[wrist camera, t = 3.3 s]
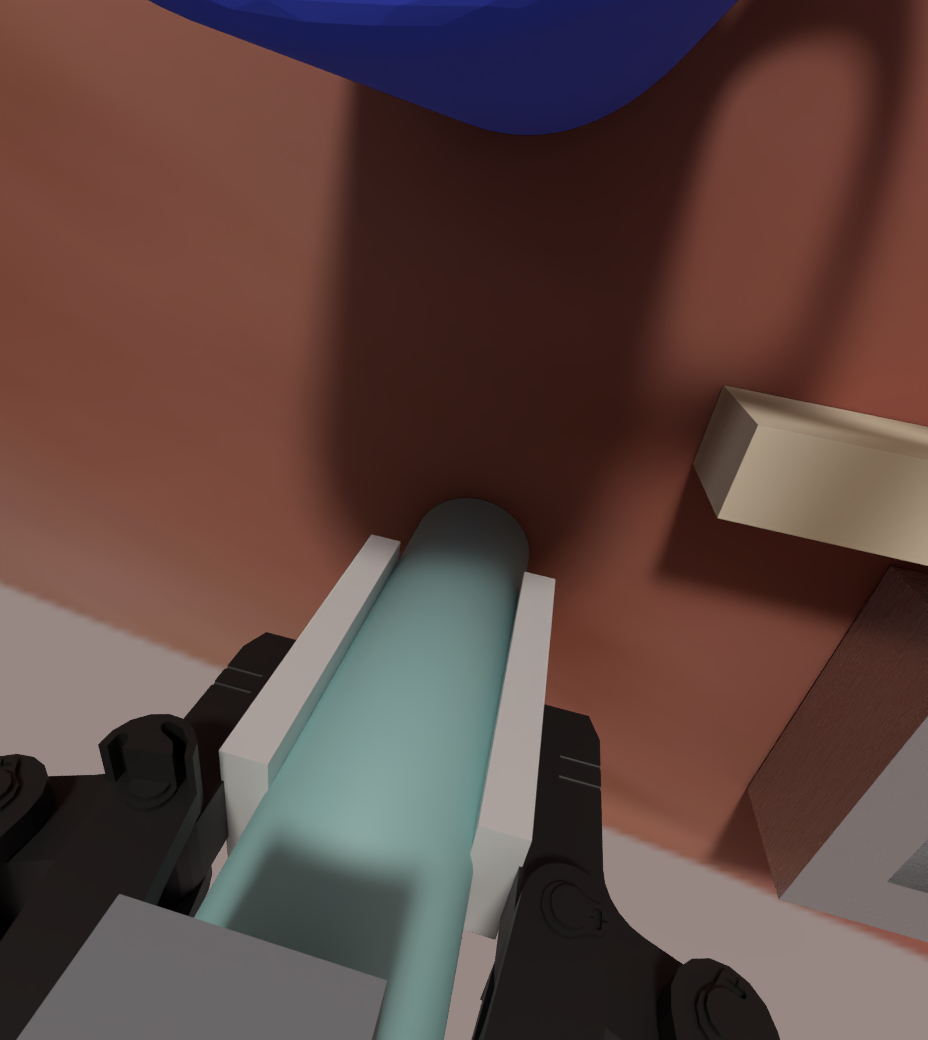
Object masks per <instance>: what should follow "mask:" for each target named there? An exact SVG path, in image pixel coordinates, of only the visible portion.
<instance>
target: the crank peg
mask: <svg viewBox="0 0 928 1040" xmlns="http://www.w3.org/2000/svg"><path fill="white" fill-rule="evenodd" d="M528 562H529V545H528V541H527V538H526V535H525V533H524V531H523V529H522V528H521V526H520V525H519V523H518V522H517V521H516V520H515V519H514V518H513V517H512V516H511V515H510V514H509V513H508V512H506V511H505V510H504V509H502V508H501V507H499V506H497V505H495V504H493V503H490V502H488V501H484V500H481V499H475V498H457V499H452V500H448V501H445V502H443V503H441V504H439V505H437V506H435V507H434V508H432V509H431V510H430V511H429V512H428V513H427V514H426V515H425V516H424V517H423V519H422V520H421V522H420V524H419V525H418V527H417V529H416V531H415V532H414V534H413V536H412V538H411V539H410V541H409V543H408V545H407V546H406V548H405V550H404V552H403V553H402V555H401V557H400V559H399V560H398V563H397V565H396V567H395V568H394V570H393V572H392V574H391V575H390V577H389V579H388V581H387V582H386V584H385V586H384V588H383V590H382V591H381V593H380V595H379V597H378V598H377V600H376V602H375V604H374V605H373V607H372V609H371V611H370V612H369V614H368V616H367V618H366V619H365V621H364V623H363V625H362V626H361V628H360V630H359V632H358V633H357V635H356V637H355V639H354V640H353V642H352V644H351V646H350V647H349V649H348V651H347V653H346V654H345V656H344V658H343V660H342V661H341V663H340V665H339V667H338V669H337V670H336V672H335V674H334V676H333V677H332V679H331V681H330V683H329V684H328V686H327V688H326V690H325V691H324V693H323V695H322V697H321V698H320V700H319V702H318V704H317V705H316V707H315V709H314V711H313V712H312V714H311V716H310V718H309V719H308V721H307V723H306V725H305V726H304V728H303V730H302V732H301V733H300V735H299V737H298V739H297V740H296V742H295V744H294V746H293V747H292V749H291V751H290V753H289V755H288V756H287V758H286V760H285V762H284V763H283V765H282V767H281V769H280V770H279V772H278V774H277V776H276V777H275V779H274V781H273V783H272V784H271V786H270V788H269V790H268V791H267V792H266V793H265V794H264V796H263V798H262V800H261V801H260V803H259V805H258V807H257V808H256V810H255V812H254V814H253V815H252V817H251V819H250V821H249V822H248V824H247V826H246V828H245V829H244V831H243V833H242V835H241V836H240V838H239V840H238V842H237V843H236V845H235V847H234V848H233V850H232V852H231V854H230V855H229V857H228V859H227V861H226V863H225V864H224V866H223V868H222V870H221V871H220V873H219V875H218V876H217V878H216V880H215V882H214V884H213V885H212V887H211V889H210V891H209V892H208V894H207V896H206V897H205V899H204V901H203V903H202V904H201V906H200V908H199V910H198V911H197V913H196V915H195V917H194V918H193V917H189V916H186V915H183V914H180V913H177V912H174V911H171V910H168V909H165V908H162V907H158V906H155V905H152V904H149V903H146V902H143V901H140V900H137V899H134V898H131V897H127V896H124V895H121V894H119V895H118V896H117V898H116V899H115V901H114V902H113V904H112V905H111V906H110V908H109V909H108V911H107V912H106V913H105V915H104V916H103V918H102V919H101V921H100V922H99V923H98V925H97V926H96V928H95V929H94V930H93V932H92V933H91V935H90V936H89V938H88V939H87V940H86V942H85V943H84V945H83V946H82V947H81V949H80V950H79V952H78V953H77V955H76V956H75V957H74V959H73V960H72V962H71V963H70V964H69V966H68V967H67V969H66V970H65V972H64V973H63V974H62V976H61V977H60V979H59V980H58V981H57V983H56V984H55V986H54V987H53V989H52V990H51V991H50V993H49V994H48V996H47V997H46V998H45V1000H44V1001H43V1003H42V1004H41V1006H40V1007H39V1008H38V1010H37V1011H36V1013H35V1014H34V1016H33V1017H32V1018H31V1020H30V1021H29V1023H28V1024H27V1025H26V1027H25V1028H24V1030H23V1031H22V1033H21V1034H20V1035H19V1037H18V1038H17V1040H444V1035H445V1029H446V1023H447V1018H448V1012H449V1006H450V1001H451V995H452V990H453V984H454V977H455V973H456V967H457V961H458V956H459V950H460V945H461V939H462V932H463V928H464V922H465V916H466V911H467V905H468V899H469V894H470V888H471V883H472V877H473V863H472V859H471V855H470V851H471V846H472V841H473V835H474V830H475V825H476V819H477V814H478V809H479V803H480V798H481V793H482V787H483V782H484V777H485V771H486V766H487V761H488V755H489V750H490V745H491V739H492V734H493V729H494V723H495V718H496V713H497V707H498V702H499V697H500V691H501V686H502V681H503V675H504V670H505V665H506V659H507V654H508V649H509V643H510V638H511V633H512V627H513V622H514V617H515V611H516V606H517V601H518V595H519V591H520V587H521V583H522V580H523V576H524V572H527V567H528Z"/></svg>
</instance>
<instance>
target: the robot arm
mask: <svg viewBox="0 0 928 1040" xmlns="http://www.w3.org/2000/svg"><path fill="white" fill-rule="evenodd" d="M400 544H401V541H397V540H392V539H388V538H384V537H380V536H376V535H372V534H371V536H370V537H369V539H368V540H367V541H366V543H365V544H364V546H363V547H362V548H361V550H360V551H359V553H358V554H357V556H356V557H355V558H354V560H353V561H352V563H351V564H350V565H349V567H348V568H347V570H346V571H345V572H344V574H343V575H342V577H341V578H340V580H339V581H338V582H337V584H336V585H335V587H334V588H333V589H332V591H331V592H330V594H329V595H328V597H327V598H326V599H325V601H324V602H323V604H322V605H321V606H320V608H319V609H318V611H317V612H316V614H315V615H314V616H313V618H312V619H311V621H310V622H309V623H308V625H307V626H306V628H305V629H304V631H303V632H302V633H301V635H300V636H299V638H298V639H297V640H294V639H290V638H286V637H282V636H279V635H275V634H271V633H267V632H266V633H264V634H263V635H261V636H259V637H258V638H256V639H254V640H253V641H251V642H249V643H248V644H246V645H244V646H243V647H242V649H241V650H240V651H239V652H238V653H237V655H236V656H235V657H234V658H233V659H232V661H231V662H230V663H229V664H228V667H227V669H224V670H223V672H222V673H221V674H220V675H219V676H218V678H217V679H216V680H215V683H214V685H211V686H210V687H209V689H208V690H207V691H206V692H205V694H204V695H203V696H202V697H201V698H200V699H199V701H198V702H197V703H196V704H195V706H194V707H193V708H192V709H191V711H190V712H189V713H188V714H187V715H186V716H185V718H184V719H182V718H179V717H176V716H173V715H170V714H151V715H147V716H144V717H140V718H137V719H133V720H130V721H129V722H127V723H125V724H123V725H121V726H120V727H118V728H116V729H114V730H113V731H112V732H111V733H110V734H108V736H106V737H105V738H104V739H103V740H102V741H101V742H100V744H98V745H99V749H100V754H101V758H102V762H103V766H104V770H105V774H99V775H77V776H48V775H47V772H46V768H45V766H44V765H43V764H42V763H41V762H39V761H38V760H37V759H36V758H34V757H31V756H25V755H20V754H14V755H6V756H0V1040H17V1038H18V1037H19V1035H20V1034H21V1033H22V1031H23V1030H24V1028H25V1027H26V1025H27V1024H28V1023H29V1021H30V1020H31V1018H32V1017H33V1016H34V1014H35V1013H36V1011H37V1010H38V1008H39V1007H40V1006H41V1004H42V1003H43V1001H44V1000H45V998H46V997H47V996H48V994H49V993H50V991H51V990H52V989H53V987H54V986H55V984H56V983H57V981H58V980H59V979H60V977H61V976H62V974H63V973H64V972H65V970H66V969H67V967H68V966H69V964H70V963H71V962H72V960H73V959H74V957H75V956H76V955H77V953H78V952H79V950H80V949H81V947H82V946H83V945H84V943H85V942H86V940H87V939H88V938H89V936H90V935H91V933H92V932H93V930H94V929H95V928H96V926H97V925H98V923H99V922H100V921H101V919H102V918H103V916H104V915H105V913H106V912H107V911H108V909H109V908H110V906H111V905H112V904H113V902H114V901H115V899H116V898H117V896H118V895H119V894H121V895H124V896H127V897H131V898H134V899H137V900H140V901H143V902H146V903H149V904H152V905H155V906H158V907H162V908H165V909H168V910H171V911H174V912H177V913H180V914H183V915H186V916H189V917H193V918H194V917H195V915H196V913H197V911H198V910H199V908H200V906H201V904H202V903H203V901H204V899H205V897H206V895H207V892H208V890H209V886H210V881H211V877H212V867H211V865H212V863H213V861H214V860H215V858H216V856H217V854H218V853H219V851H220V849H221V848H222V846H223V844H224V842H225V841H226V840H227V853H228V857H229V855H230V854H231V852H232V850H233V848H234V847H235V845H236V843H237V842H238V840H239V838H240V836H241V835H242V833H243V831H244V829H245V828H246V826H247V824H248V822H249V821H250V819H251V817H252V815H253V814H254V812H255V810H256V808H257V807H258V805H259V803H260V801H261V800H262V798H263V796H264V794H265V793H266V792H267V791H268V790H269V788H270V786H271V784H272V783H273V781H274V779H275V777H276V776H277V774H278V772H279V770H280V769H281V767H282V765H283V763H284V762H285V760H286V758H287V756H288V755H289V753H290V751H291V749H292V747H293V746H294V744H295V742H296V740H297V739H298V737H299V735H300V733H301V732H302V730H303V728H304V726H305V725H306V723H307V721H308V719H309V718H310V716H311V714H312V712H313V711H314V709H315V707H316V705H317V704H318V702H319V700H320V698H321V697H322V695H323V693H324V691H325V690H326V688H327V686H328V684H329V683H330V681H331V679H332V677H333V676H334V674H335V672H336V670H337V669H338V667H339V665H340V663H341V661H342V660H343V658H344V656H345V654H346V653H347V651H348V649H349V647H350V646H351V644H352V642H353V640H354V639H355V637H356V635H357V633H358V632H359V630H360V628H361V626H362V625H363V623H364V621H365V619H366V618H367V616H368V614H369V612H370V611H371V609H372V607H373V605H374V604H375V602H376V600H377V598H378V597H379V595H380V593H381V591H382V590H383V588H384V586H385V584H386V582H387V581H388V579H389V577H390V575H391V574H392V572H393V570H394V568H395V567H396V565H397V563H398V560H399V552H400ZM554 590H555V579H553V578H549V577H545V576H541V575H536V574H532V573H528V572H524V576H523V580H522V583H521V587H520V591H519V595H518V601H517V606H516V611H515V617H514V622H513V627H512V633H511V638H510V643H509V649H508V654H507V659H506V665H505V670H504V675H503V681H502V686H501V691H500V697H499V702H498V707H497V713H496V718H495V723H494V729H493V734H492V739H491V745H490V750H489V755H488V761H487V766H486V771H485V777H484V782H483V787H482V793H481V798H480V803H479V809H478V814H477V819H476V825H475V830H474V835H473V841H472V846H471V851H470V855H471V859H472V863H473V877H472V883H471V888H470V894H469V899H468V905H467V911H466V916H465V922H464V928H463V930H466V931H469V932H472V933H475V934H479V935H482V936H485V937H488V938H492V939H496V936H497V933H498V931H499V933H498V941H497V949H496V957H495V963H494V965H493V968H492V970H491V973H490V975H489V978H488V980H487V983H486V986H485V988H484V991H483V993H482V996H481V1000H482V1004H481V1008H480V1011H479V1015H478V1018H477V1022H476V1026H475V1029H474V1033H473V1036H472V1040H780V1038H779V1035H778V1031H777V1029H776V1027H775V1025H774V1022H773V1020H772V1018H771V1016H770V1013H769V1011H768V1009H767V1006H766V1005H765V1003H764V1002H763V1001H762V999H761V998H760V997H759V996H758V994H757V993H756V991H755V990H754V989H753V987H752V986H751V985H750V984H749V983H748V982H747V981H746V980H745V979H744V978H743V977H741V976H740V975H739V974H738V973H736V972H735V971H734V970H733V969H732V968H730V967H729V966H727V965H724V964H722V963H719V962H717V961H715V960H712V959H709V958H706V959H691V960H690V961H688V962H687V963H685V964H684V965H683V964H682V963H680V962H679V961H677V960H676V959H674V958H673V957H671V956H670V955H669V954H667V953H666V952H664V951H663V950H661V949H660V948H658V947H657V946H655V945H654V944H652V943H651V942H650V941H648V940H646V939H645V938H644V937H642V936H641V935H640V934H639V933H638V932H636V931H635V930H634V929H633V928H632V927H630V926H629V924H628V923H627V922H626V921H625V919H624V918H623V917H622V916H621V915H620V914H619V912H618V910H617V909H616V907H615V906H614V904H613V902H612V900H611V898H610V896H609V893H608V890H607V888H606V885H605V880H604V873H603V851H602V810H601V791H600V787H601V770H600V740H599V738H598V735H597V733H596V731H595V729H594V727H593V724H592V722H591V720H590V718H589V716H586V715H582V714H579V713H575V712H571V711H567V710H563V709H560V708H556V707H552V706H548V705H545V704H544V701H545V690H546V678H547V667H548V656H549V645H550V634H551V623H552V612H553V601H554Z"/></svg>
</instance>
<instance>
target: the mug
mask: <svg viewBox="0 0 928 1040" xmlns="http://www.w3.org/2000/svg"><path fill="white" fill-rule="evenodd" d="M149 1H151V2H153V3H155V4H157V5H158V6H160V7H162V8H165V9H167V10H169V11H171V12H174V13H176V14H178V15H180V16H183V17H185V18H187V19H189V20H192V21H194V22H197V23H200V24H202V25H205V26H208V27H210V28H213V29H216V30H218V31H221V32H224V33H226V34H229V35H232V36H234V37H237V38H240V39H242V40H245V41H248V42H250V43H253V44H256V45H258V46H261V47H264V48H266V49H269V50H272V51H274V52H277V53H280V54H282V55H285V56H288V57H290V58H293V59H296V60H298V61H301V62H304V63H307V64H309V65H312V66H315V67H317V68H320V69H323V70H325V71H328V72H331V73H333V74H336V75H339V76H341V77H344V78H347V79H349V80H352V81H355V82H357V83H360V84H363V85H365V86H368V87H371V88H373V89H376V90H379V91H381V92H384V93H387V94H389V95H392V96H395V97H397V98H400V99H403V100H405V101H408V102H411V103H413V104H416V105H419V106H421V107H424V108H427V109H429V110H432V111H435V112H437V113H440V114H443V115H445V116H448V117H451V118H453V119H456V120H459V121H461V122H464V123H467V124H470V125H473V126H476V127H479V128H482V129H485V130H490V131H495V132H500V133H506V134H515V135H541V134H549V133H556V132H561V131H566V130H570V129H573V128H577V127H580V126H583V125H586V124H588V123H591V122H593V121H596V120H598V119H601V118H603V117H605V116H607V115H609V114H611V113H613V112H614V111H616V110H618V109H620V108H621V107H623V106H625V105H626V104H628V103H629V102H631V101H632V100H634V99H635V98H637V97H638V96H639V95H641V94H642V93H643V92H645V91H646V90H648V89H649V88H650V87H651V86H653V85H654V84H655V83H656V82H657V81H659V80H660V79H661V78H662V77H663V76H665V75H666V74H667V73H668V72H669V71H670V70H671V69H672V68H673V67H674V66H675V65H676V64H677V63H678V62H679V61H680V60H681V59H682V58H683V57H684V56H685V55H686V54H687V53H688V52H689V51H690V50H691V49H692V48H693V47H694V46H695V45H696V44H697V43H698V42H699V41H700V40H701V39H702V38H703V36H704V35H705V34H706V33H707V32H708V31H709V30H710V29H711V28H712V27H713V26H714V25H715V24H716V23H717V22H718V21H719V20H720V19H721V18H722V17H723V16H724V15H725V14H726V13H727V12H728V10H729V9H730V8H731V7H732V6H733V5H734V4H735V3H736V2H737V1H738V0H149Z"/></svg>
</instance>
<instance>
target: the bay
mask: <svg viewBox="0 0 928 1040" xmlns="http://www.w3.org/2000/svg"><path fill="white" fill-rule="evenodd" d="M693 466H694V468H695V470H696V472H697V474H698V477H699V479H700V481H701V483H702V485H703V488H704V490H705V492H706V494H707V496H708V499H709V501H710V503H711V505H712V507H713V510H714V512H715V514H716V516H717V518H719V519H724V520H728V521H732V522H737V523H741V524H746V525H750V526H754V527H759V528H763V529H768V530H772V531H777V532H781V533H785V534H790V535H794V536H799V537H803V538H807V539H812V540H816V541H821V542H825V543H830V544H834V545H838V546H843V547H847V548H852V549H856V550H860V551H865V552H869V553H874V554H878V555H883V556H887V557H891V558H896V559H900V560H905V561H909V562H913V563H918V564H922V565H927V566H928V427H926V426H921V425H916V424H911V423H906V422H901V421H896V420H891V419H886V418H882V417H877V416H872V415H867V414H862V413H857V412H852V411H847V410H842V409H837V408H833V407H828V406H823V405H818V404H813V403H808V402H803V401H798V400H793V399H788V398H784V397H779V396H774V395H769V394H764V393H759V392H754V391H749V390H744V389H739V388H735V387H730V386H725V385H723V388H722V390H721V393H720V395H719V398H718V400H717V403H716V406H715V408H714V411H713V413H712V416H711V418H710V421H709V423H708V426H707V429H706V431H705V434H704V436H703V439H702V441H701V444H700V446H699V449H698V452H697V454H696V457H695V459H694V462H693Z"/></svg>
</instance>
